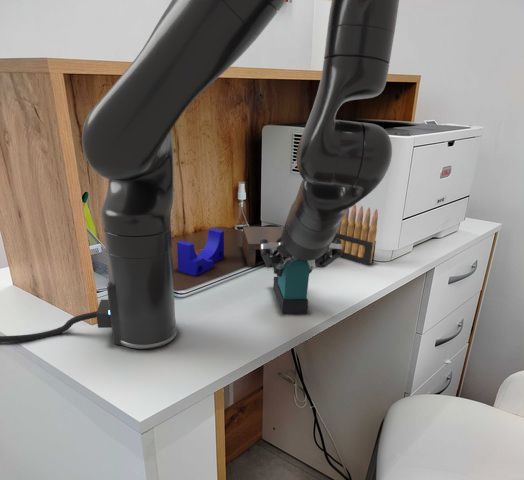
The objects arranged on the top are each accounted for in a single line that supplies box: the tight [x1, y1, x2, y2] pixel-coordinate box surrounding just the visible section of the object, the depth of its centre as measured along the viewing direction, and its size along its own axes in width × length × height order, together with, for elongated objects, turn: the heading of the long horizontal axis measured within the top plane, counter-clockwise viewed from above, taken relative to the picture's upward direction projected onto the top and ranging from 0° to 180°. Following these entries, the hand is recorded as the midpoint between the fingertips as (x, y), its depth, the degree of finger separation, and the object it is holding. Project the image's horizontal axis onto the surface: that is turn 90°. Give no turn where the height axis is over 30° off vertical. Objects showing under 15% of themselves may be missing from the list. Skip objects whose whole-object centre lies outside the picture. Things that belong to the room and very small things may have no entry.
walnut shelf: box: [241, 226, 320, 268], centre depth 110 cm, size 16×12×5 cm
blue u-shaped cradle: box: [176, 228, 225, 277], centre depth 103 cm, size 12×4×6 cm, turn 149°
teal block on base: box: [272, 260, 310, 315], centre depth 89 cm, size 4×11×10 cm, turn 7°
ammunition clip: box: [331, 204, 379, 266], centre depth 109 cm, size 11×2×12 cm, turn 51°
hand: (291, 271), depth 89 cm, fingers closed on teal block on base, 4 cm apart
